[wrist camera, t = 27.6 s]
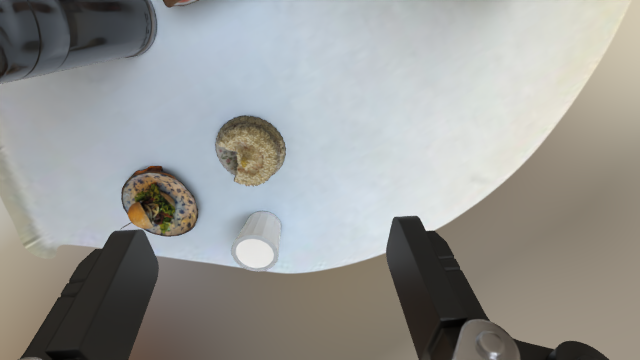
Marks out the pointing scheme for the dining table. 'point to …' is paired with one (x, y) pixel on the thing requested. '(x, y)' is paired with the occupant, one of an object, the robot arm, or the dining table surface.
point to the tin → (177, 2)
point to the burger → (159, 203)
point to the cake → (250, 149)
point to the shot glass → (258, 242)
